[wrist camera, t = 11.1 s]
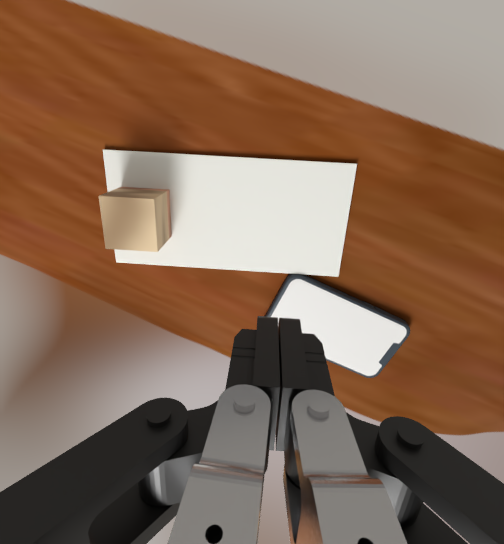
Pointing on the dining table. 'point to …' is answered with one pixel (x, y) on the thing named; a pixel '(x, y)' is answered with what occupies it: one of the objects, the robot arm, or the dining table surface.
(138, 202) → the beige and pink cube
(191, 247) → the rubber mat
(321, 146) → the dining table surface
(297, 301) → the phone case
